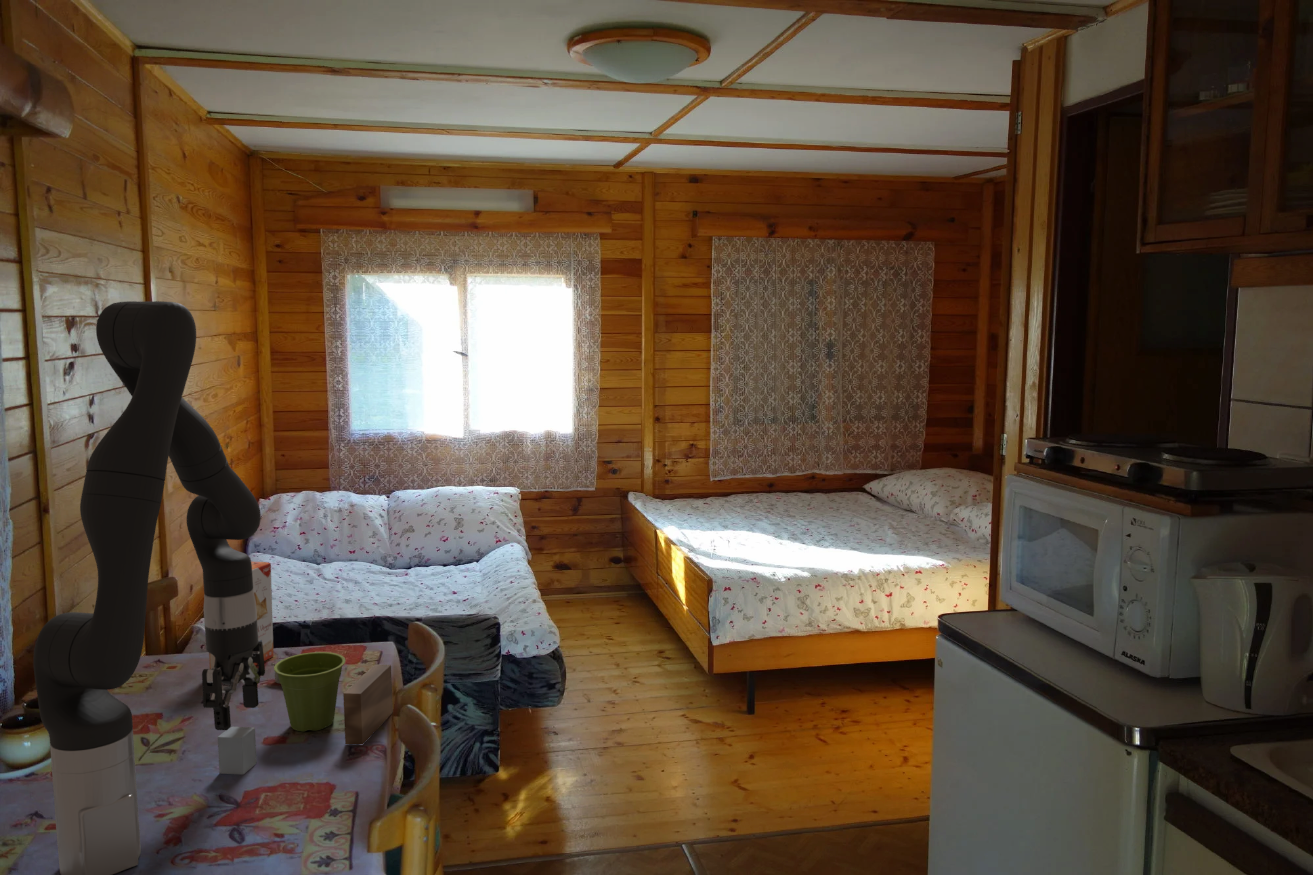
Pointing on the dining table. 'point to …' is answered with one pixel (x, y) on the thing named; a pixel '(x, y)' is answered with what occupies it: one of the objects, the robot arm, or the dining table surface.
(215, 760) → the dining table surface
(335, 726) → the dining table surface
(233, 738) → the grey upright block
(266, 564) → the cracker box
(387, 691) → the rail
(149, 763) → the dining table surface
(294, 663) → the plant pot
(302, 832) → the dining table surface
